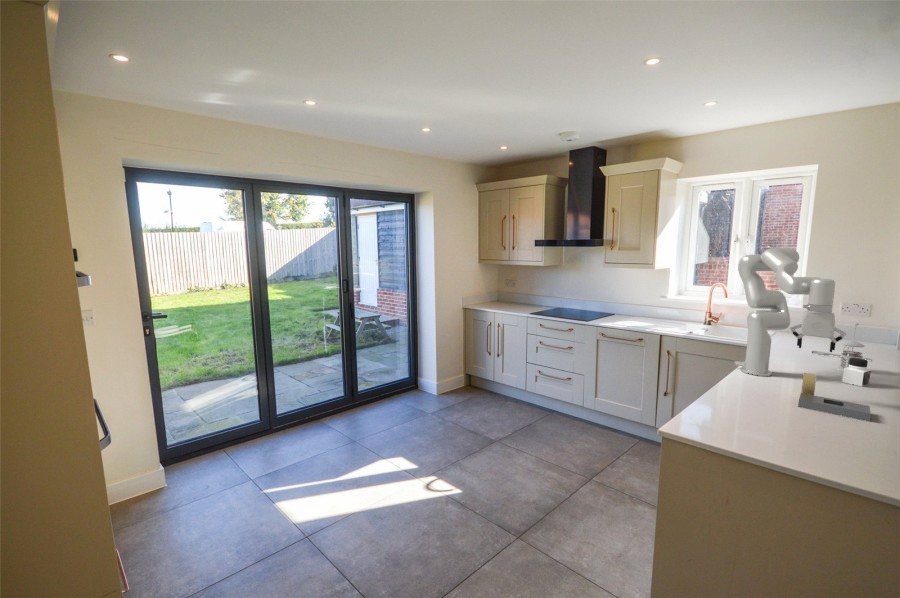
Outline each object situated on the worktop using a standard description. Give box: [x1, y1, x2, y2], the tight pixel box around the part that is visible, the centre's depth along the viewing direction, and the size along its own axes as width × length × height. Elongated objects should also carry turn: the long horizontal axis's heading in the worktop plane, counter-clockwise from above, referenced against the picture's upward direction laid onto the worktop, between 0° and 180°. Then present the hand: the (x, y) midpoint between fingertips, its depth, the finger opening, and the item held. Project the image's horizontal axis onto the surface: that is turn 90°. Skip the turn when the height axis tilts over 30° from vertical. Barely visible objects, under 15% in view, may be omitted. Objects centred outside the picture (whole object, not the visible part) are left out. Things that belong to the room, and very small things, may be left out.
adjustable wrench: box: [811, 350, 873, 361], centre depth 237 cm, size 25×6×2 cm, turn 47°
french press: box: [837, 322, 865, 372], centre depth 210 cm, size 10×12×25 cm
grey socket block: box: [797, 392, 871, 422], centre depth 160 cm, size 20×10×3 cm, turn 46°
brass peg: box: [800, 371, 818, 396], centre depth 173 cm, size 4×4×10 cm
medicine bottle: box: [841, 358, 872, 387], centre depth 190 cm, size 7×7×12 cm
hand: (815, 349), depth 171 cm, fingers open, 9 cm apart
